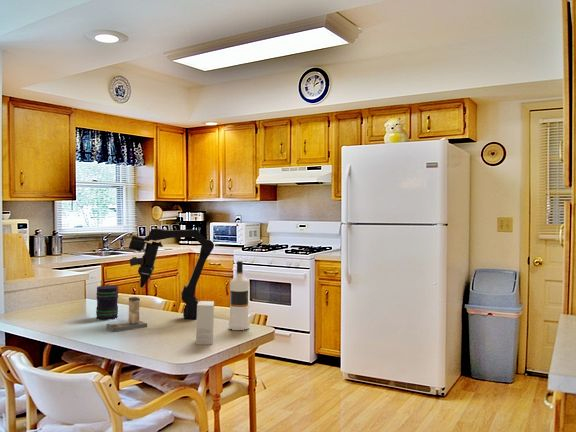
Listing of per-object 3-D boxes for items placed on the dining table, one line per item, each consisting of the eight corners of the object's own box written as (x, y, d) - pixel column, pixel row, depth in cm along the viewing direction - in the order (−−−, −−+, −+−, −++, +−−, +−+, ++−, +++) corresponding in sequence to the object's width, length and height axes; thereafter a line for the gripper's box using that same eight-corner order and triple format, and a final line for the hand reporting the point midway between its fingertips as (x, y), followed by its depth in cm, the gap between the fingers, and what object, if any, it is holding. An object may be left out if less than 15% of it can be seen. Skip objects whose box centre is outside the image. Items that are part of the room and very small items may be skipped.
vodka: (225, 327, 219) (226, 260, 219) (245, 325, 223) (245, 259, 223) (232, 332, 211) (233, 262, 211) (252, 330, 215) (253, 261, 215)
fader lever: (135, 321, 221) (135, 296, 221) (139, 322, 218) (139, 298, 218) (128, 322, 219) (128, 297, 219) (132, 323, 216) (132, 298, 216)
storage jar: (122, 317, 238) (122, 286, 238) (107, 320, 229) (107, 288, 229) (107, 315, 242) (107, 284, 243) (91, 318, 234) (91, 287, 234)
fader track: (139, 323, 224) (139, 319, 224) (146, 326, 219) (147, 322, 219) (106, 328, 213) (106, 324, 213) (112, 331, 208) (113, 327, 208)
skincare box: (197, 339, 198) (198, 300, 198) (214, 339, 198) (214, 300, 198) (195, 345, 189) (196, 304, 189) (212, 344, 190) (213, 304, 190)
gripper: (135, 248, 242) (127, 279, 241) (131, 251, 223) (122, 285, 223) (157, 254, 244) (149, 284, 243) (155, 257, 226) (147, 290, 225)
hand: (142, 286), depth 233 cm, fingers open, 9 cm apart
